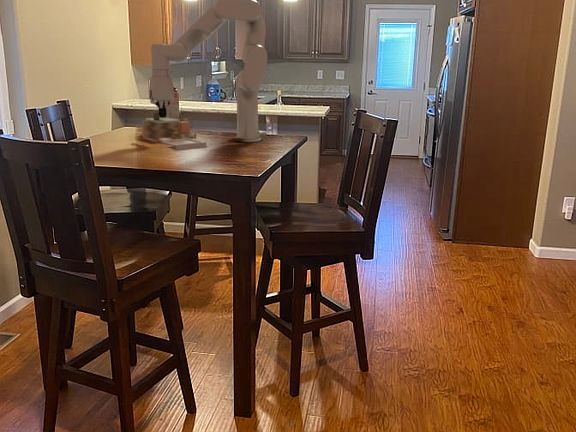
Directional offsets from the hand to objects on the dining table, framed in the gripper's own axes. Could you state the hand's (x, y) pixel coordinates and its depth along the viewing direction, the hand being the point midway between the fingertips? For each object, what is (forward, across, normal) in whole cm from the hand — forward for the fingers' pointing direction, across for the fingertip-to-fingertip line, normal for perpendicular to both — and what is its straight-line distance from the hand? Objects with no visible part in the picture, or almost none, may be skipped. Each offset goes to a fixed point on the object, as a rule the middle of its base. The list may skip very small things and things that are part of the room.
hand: (162, 117), depth 243 cm
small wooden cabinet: (+11, -5, -1) cm, 12 cm away
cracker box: (+11, -13, -17) cm, 24 cm away
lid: (+2, 0, -1) cm, 2 cm away
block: (+10, -10, +1) cm, 14 cm away
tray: (+11, -2, +15) cm, 18 cm away
